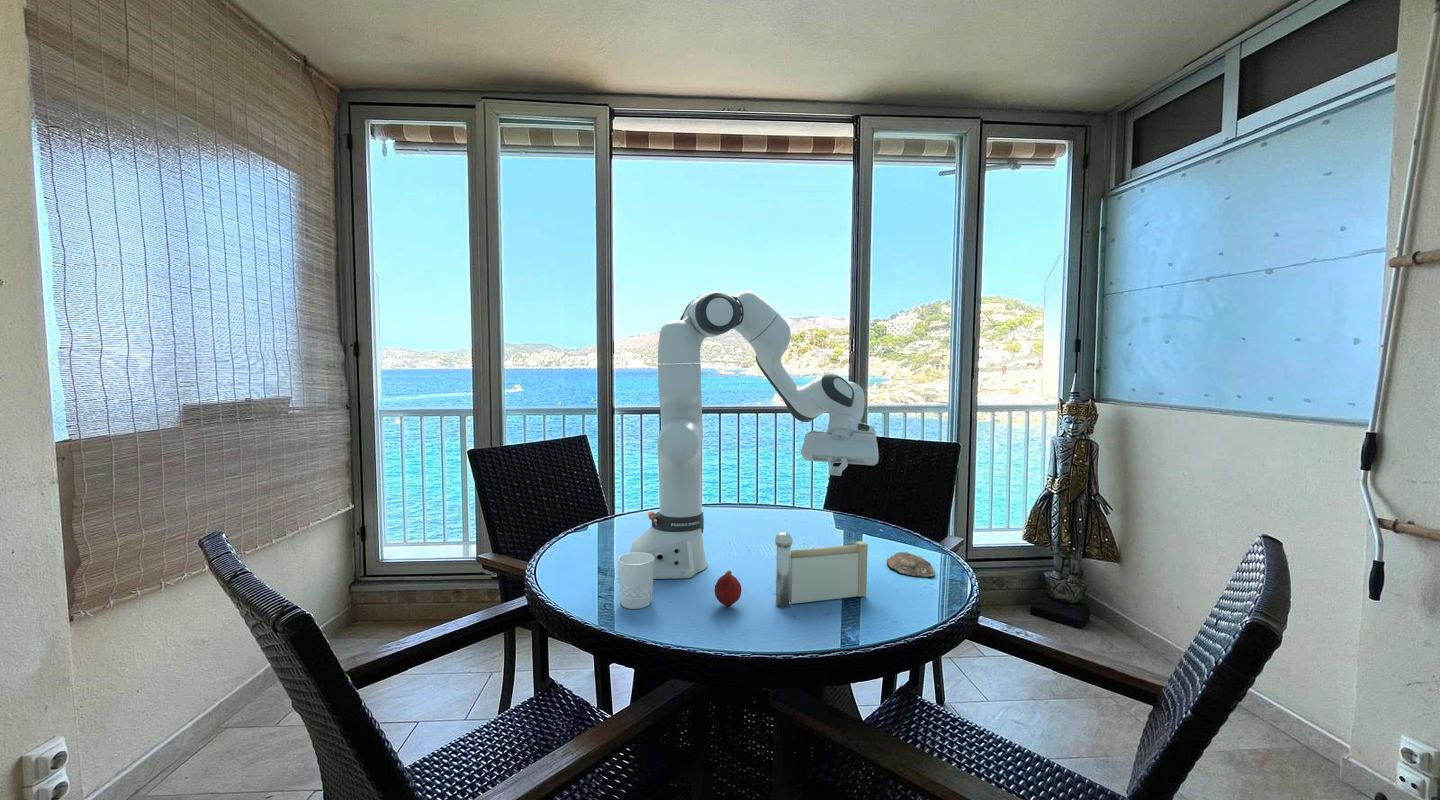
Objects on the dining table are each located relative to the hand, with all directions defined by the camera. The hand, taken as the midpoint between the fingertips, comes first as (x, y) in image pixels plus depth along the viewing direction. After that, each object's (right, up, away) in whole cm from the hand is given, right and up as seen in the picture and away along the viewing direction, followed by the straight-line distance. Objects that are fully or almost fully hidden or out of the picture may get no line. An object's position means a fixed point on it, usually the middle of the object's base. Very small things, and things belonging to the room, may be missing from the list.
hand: (835, 474), depth 141 cm
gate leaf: (-6, -25, -19) cm, 32 cm away
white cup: (-48, -26, -21) cm, 59 cm away
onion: (-28, -26, -23) cm, 45 cm away
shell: (+20, -26, +2) cm, 33 cm away
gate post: (-16, -26, -22) cm, 37 cm away
